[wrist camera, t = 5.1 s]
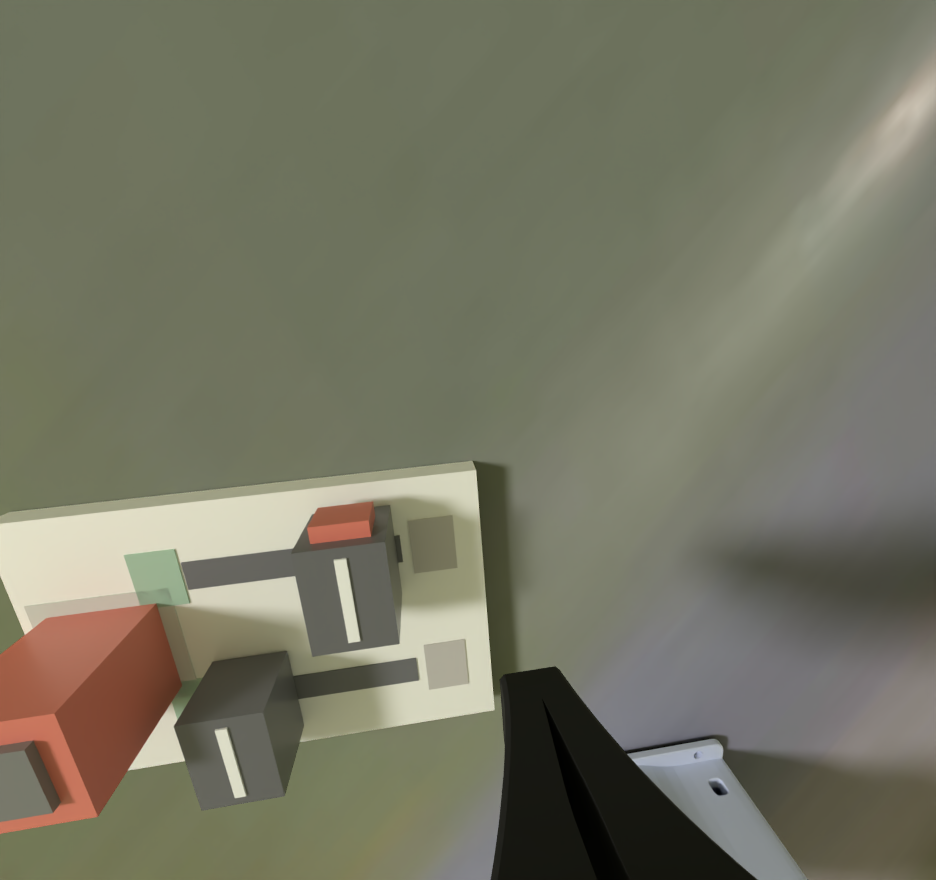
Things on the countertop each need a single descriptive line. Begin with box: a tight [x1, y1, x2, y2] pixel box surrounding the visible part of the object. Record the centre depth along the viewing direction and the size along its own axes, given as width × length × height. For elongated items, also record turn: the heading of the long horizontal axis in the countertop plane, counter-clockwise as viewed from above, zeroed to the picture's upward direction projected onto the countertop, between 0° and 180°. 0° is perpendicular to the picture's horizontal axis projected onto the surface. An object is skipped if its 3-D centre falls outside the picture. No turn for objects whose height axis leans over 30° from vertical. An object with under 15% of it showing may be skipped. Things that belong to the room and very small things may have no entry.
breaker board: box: [0, 461, 494, 770], centre depth 18 cm, size 18×12×1 cm, turn 94°
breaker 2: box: [291, 501, 402, 657], centre depth 16 cm, size 3×5×3 cm, turn 4°
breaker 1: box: [174, 651, 304, 810], centre depth 17 cm, size 3×4×3 cm
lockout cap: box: [0, 603, 182, 834], centre depth 15 cm, size 4×4×5 cm
